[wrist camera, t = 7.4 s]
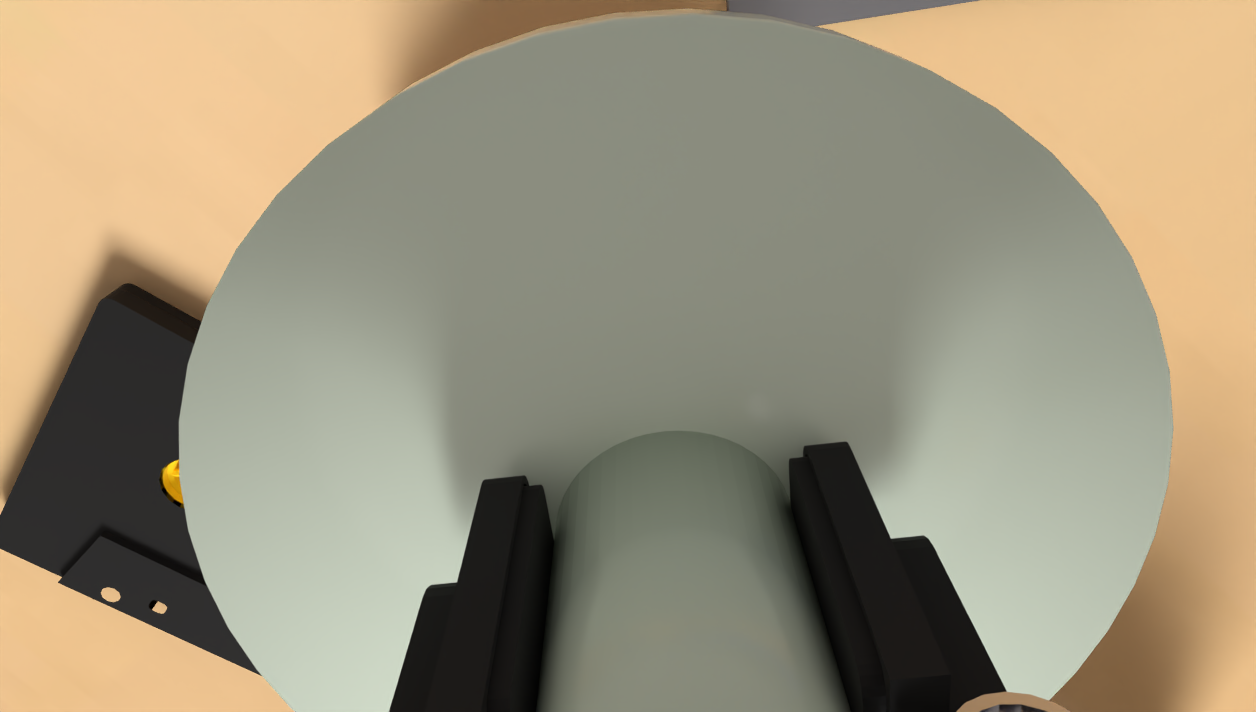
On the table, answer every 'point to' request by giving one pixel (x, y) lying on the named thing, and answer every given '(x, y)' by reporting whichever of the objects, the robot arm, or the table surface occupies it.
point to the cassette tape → (120, 475)
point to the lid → (672, 367)
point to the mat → (831, 8)
